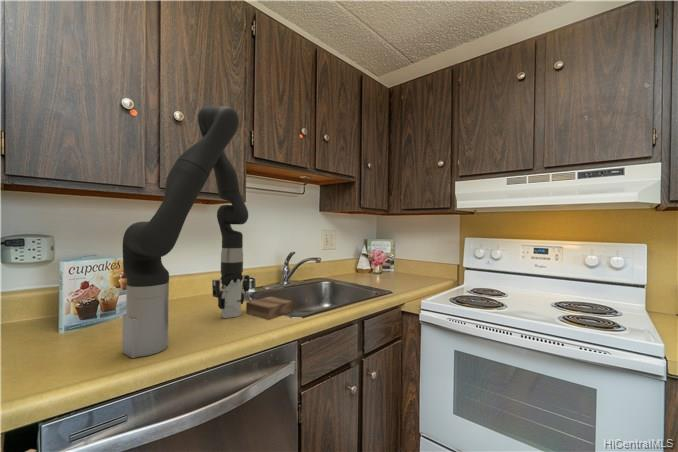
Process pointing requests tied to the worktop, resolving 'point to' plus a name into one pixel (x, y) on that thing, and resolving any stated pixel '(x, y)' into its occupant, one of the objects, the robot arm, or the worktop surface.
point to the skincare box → (232, 301)
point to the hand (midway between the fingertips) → (231, 306)
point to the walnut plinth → (269, 307)
